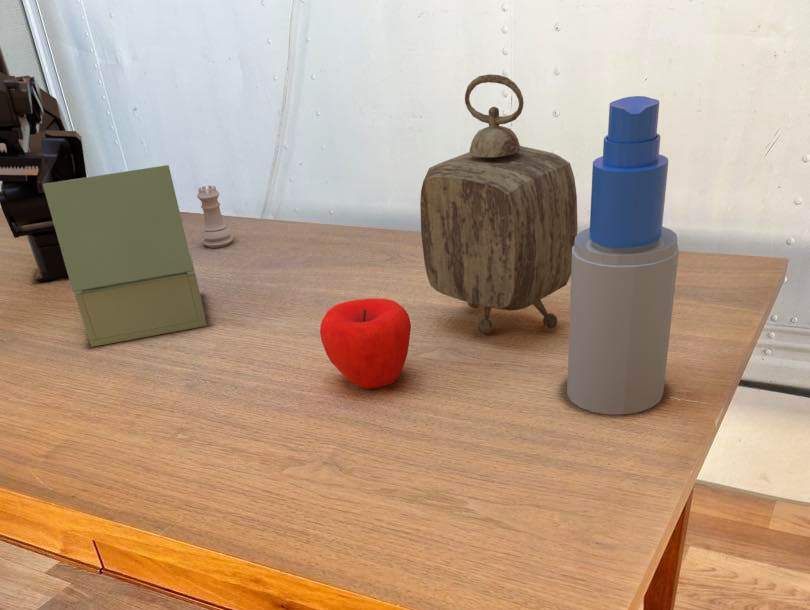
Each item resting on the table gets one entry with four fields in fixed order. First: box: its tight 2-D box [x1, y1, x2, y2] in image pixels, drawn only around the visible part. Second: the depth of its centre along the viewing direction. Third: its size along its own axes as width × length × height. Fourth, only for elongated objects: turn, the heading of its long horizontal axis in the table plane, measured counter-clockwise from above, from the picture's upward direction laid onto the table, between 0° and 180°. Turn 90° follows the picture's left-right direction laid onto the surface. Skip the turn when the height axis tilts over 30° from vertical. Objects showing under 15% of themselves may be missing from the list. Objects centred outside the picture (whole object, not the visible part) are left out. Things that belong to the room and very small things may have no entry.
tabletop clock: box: [419, 74, 579, 335], centre depth 87 cm, size 14×9×25 cm, turn 47°
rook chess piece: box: [196, 185, 234, 249], centre depth 124 cm, size 4×4×8 cm
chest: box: [74, 247, 207, 348], centre depth 103 cm, size 11×14×6 cm
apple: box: [319, 298, 412, 389], centre depth 84 cm, size 9×9×8 cm
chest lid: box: [43, 164, 194, 293], centre depth 95 cm, size 11×14×1 cm
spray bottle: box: [566, 95, 680, 416], centre depth 73 cm, size 9×9×25 cm
